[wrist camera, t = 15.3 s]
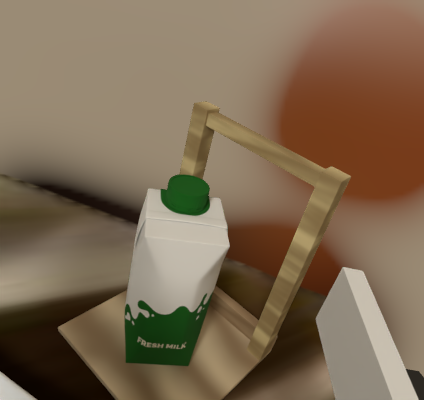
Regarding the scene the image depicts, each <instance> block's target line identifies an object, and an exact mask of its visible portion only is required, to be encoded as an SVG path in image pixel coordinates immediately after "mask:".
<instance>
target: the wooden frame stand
mask: <svg viewBox="0 0 424 400" xmlns="http://www.w3.org/2000/svg"><path fill="white" fill-rule="evenodd" d="M219 109H220V108H218V107H216V106H215V105H213V104H211V103H209V102H206V101H205V102H199V103H194V107H193V112H192V116H191V121H190V126H189V131H188V136H187V141H186V145H185V150H184V155H183V160H182V165H181V170H180V174H179V175H181V174H186V175H192V176H195V177H198V178H200V179H203V175H204V171H205V167H206V162H207V158H208V154H209V150H210V146H211V142H212V138H213V134H214V130H215V131H217V132H218V133H220V134H222V135H224V136H225V137H227V138H229V139H231V140H232V141H234V142H236V143H238V144H240V145H242V146H243V147H245V148H247V149H248V150H250V151H252V152H254V153H256V154H258V155H259V156H261V157H263V158H265V159H266V160H268V161H270V162H272V163H273V164H275V165H277V166H279V167H281V168H282V169H284V170H286V171H288V172H290V173H291V174H293V175H295V176H297V177H299V178H300V179H302V180H304V181H306V182H307V183H310V184H311V185H313V186H314V187H315V188H314V191H313V193H312V195H311V198H310V200H309V203H308V205H307V207H306V210H305V212H304V214H303V217H302V219H301V222H300V224H299V227H298V229H297V231H296V233H295V236H294V238H293V241H292V243H291V245H290V248H289V250H288V252H287V255H286V257H285V260H284V262H283V264H282V267H281V269H280V272H279V274H278V276H277V279H276V281H275V283H274V286H273V288H272V290H271V293H270V295H269V298H268V300H267V302H266V305H265V307H264V309H263V312H262V314H261V317H260V319H259V320H258V319H256V318H255V317H254V316H253V315H251V314H250V313H249V312H248V311H247V310H245V309H244V308H243V307H242V306H240V305H239V304H238V303H237V302H235V301H234V300H233V299H232V298H231V297H229V296H228V295H227V294H226V293H224V292H223V291H222V290H221V289H220V288H218V287H217V286H216V285H215V288H214V291H213V294H212V297H211V301H210V304H209V307H208V310H207V313H206V316H205V319H204V322H203V325H202V328H201V331H200V334H199V337H198V340H197V343H196V346H195V348H194V351H193V354H192V357H191V360H190V363H189V366H175V365H157V364H138V363H126V354H125V321H124V319H125V302H126V295H127V290H126V291H124V292H122V293H121V294H119V295H117V296H115V297H113V298H111V299H109V300H107V301H106V302H104V303H102V304H100V305H98V306H96V307H94V308H93V309H91V310H89V311H87V312H85V313H83V314H81V315H80V316H78V317H76V318H74V319H72V320H70V321H68V322H67V323H65V324H63V325H61V326H59V327H58V331H59V332H60V333H61V335H62V336H63V337H64V338H65V339H66V341H67V342H68V343H69V344H70V345H71V347H72V348H73V349H74V350H75V351H76V353H77V354H78V355H79V356H80V357H81V359H82V360H83V361H84V362H85V363H86V365H87V366H88V367H89V368H90V369H91V371H92V372H93V373H94V374H95V375H96V377H97V378H98V379H99V380H100V381H101V383H102V384H103V385H104V386H105V387H106V389H107V390H108V391H109V392H110V393H111V395H112V396H113V397H114V398H115V400H222V399H223V398H224V397H225V396H226V395H227V394H228V393H229V392H230V391H231V390H232V389H233V388H234V387H235V386H236V385H237V384H238V383H239V382H240V381H241V380H242V379H243V378H244V377H246V376H247V375H248V374H249V373H250V372H251V371H252V370H253V369H254V368H255V367H256V366H257V365H258V364H259V363H260V362H261V361H262V360H263V359H264V358H265V357H266V356H267V355H268V354H269V353H270V352H271V350H272V347H273V345H274V343H275V341H276V339H277V337H278V336H277V333H278V331H279V329H280V327H281V325H282V323H283V320H284V318H285V316H286V314H287V312H288V310H289V308H290V305H291V303H292V301H293V299H294V297H295V295H296V293H297V291H298V288H299V286H300V284H301V282H302V280H303V278H304V276H305V274H306V271H307V269H308V267H309V265H310V263H311V261H312V258H313V256H314V254H315V252H316V250H317V248H318V246H319V244H320V242H321V239H322V237H323V235H324V233H325V231H326V229H327V227H328V224H329V222H330V220H331V218H332V216H333V214H334V212H335V210H336V207H337V205H338V203H339V201H340V199H341V197H342V194H343V192H344V190H345V188H346V186H347V184H348V182H349V180H350V178H351V176H349V175H347V174H345V173H343V172H342V171H340V170H338V169H336V168H334V167H332V166H331V167H329V168H327V169H324V168H322V167H320V166H318V165H317V164H315V163H313V162H311V161H309V160H307V159H305V158H303V157H301V156H299V155H298V154H296V153H294V152H292V151H290V150H288V149H286V148H284V147H282V146H281V145H278V144H277V143H275V142H273V141H271V140H269V139H267V138H265V137H264V136H262V135H260V134H258V133H256V132H254V131H252V130H250V129H248V128H247V127H245V126H242V125H241V124H239V123H237V122H235V121H233V120H231V119H229V118H227V117H226V116H224V115H222V114H220V113H219Z"/></svg>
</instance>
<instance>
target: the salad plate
mask: <svg viewBox="0 0 424 400" xmlns="http://www.w3.org/2000/svg"><path fill="white" fill-rule="evenodd" d="M0 400H37V399H36V398H34V397H33V396H32V395H30V394H29V393H27V392H26V391H25V390H24V389H22V388H21V387H20V386H18V385H17V384H16V383H15V382H13V381H12V380H11V379H9V378H8V377H7V376H6V375H5V374H3V373H2V372H1V371H0Z"/></svg>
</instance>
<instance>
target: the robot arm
mask: <svg viewBox="0 0 424 400" xmlns="http://www.w3.org/2000/svg"><path fill="white" fill-rule="evenodd" d="M316 322H317V326H318V330H319V334H320V338H321V342H322V347H323V351H324V355H325V359H326V363H327V367H328V371H329V375H330V379H331V383H332V387H333V391H334V395H335V399H336V400H424V377H423V376H422V375H421V374H420V372H419V371H414V370H408V369H405V367H404V365H403V362H402V360H401V358H400V355H399V353H398V351H397V348H396V346H395V344H394V342H393V339H392V337H391V335H390V332H389V330H388V328H387V325H386V323H385V321H384V318H383V316H382V314H381V312H380V309H379V307H378V305H377V303H376V300H375V298H374V295H373V293H372V291H371V288H370V286H369V284H368V282H367V279H366V277H365V275H364V272H363V271H360V270H355V269H350V268H345V267H343V268H342V270H341V272H340V274H339V276H338V277H337V279H336V281H335V283H334V285H333V287H332V289H331V291H330V292H329V294H328V296H327V298H326V300H325V302H324V304H323V306H322V308H321V309H320V311H319V313H318V315H317V317H316Z"/></svg>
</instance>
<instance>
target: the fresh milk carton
mask: <svg viewBox="0 0 424 400" xmlns="http://www.w3.org/2000/svg"><path fill="white" fill-rule="evenodd" d="M209 189H210V188H209V185H208V184H207V183H206V182H205V181H204V180H202V179H200V178H198V177H195V176H192V175H186V174H181V175H175V176H173V177H171V178H170V180H169V183H168V189H167V190H165V189H161V190H157V189H151V188H149V189H148V191H147V195H146V198H145V201H144V204H143V208H142V211H141V214H140V219H139V223H138V227H137V231H136V237H135V242H134V251H133V257H132V263H131V269H130V276H129V282H128V289H127V295H126V302H125V319H124V321H125V354H126V363H138V364H157V365H175V366H189V363H190V360H191V357H192V354H193V351H194V348H195V346H196V343H197V340H198V337H199V334H200V331H201V328H202V325H203V322H204V319H205V316H206V313H207V310H208V307H209V304H210V301H211V297H212V294H213V291H214V288H215V285H216V282H217V279H218V275H219V272H220V269H221V265H222V263H223V260H224V258H225V256H226V253H227V251H228V249H229V247H230V244H229V240H228V229H227V223H226V221H225V216H224V211H223V207H222V203H221V199H220V198H213V197H209V196H208V195H209Z"/></svg>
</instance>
